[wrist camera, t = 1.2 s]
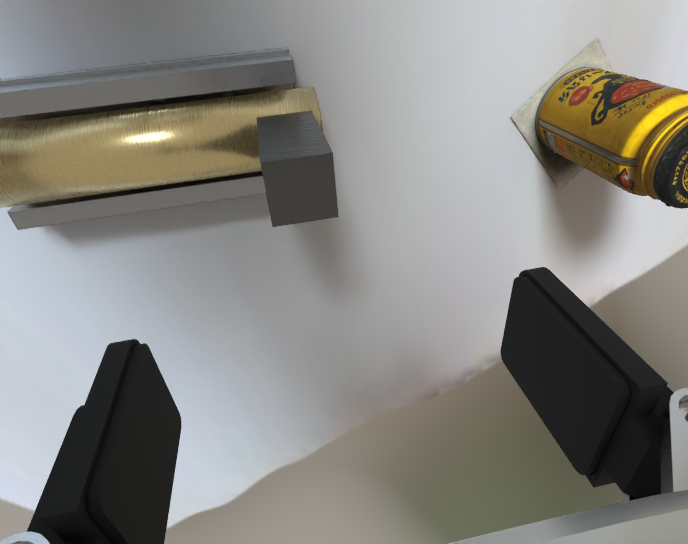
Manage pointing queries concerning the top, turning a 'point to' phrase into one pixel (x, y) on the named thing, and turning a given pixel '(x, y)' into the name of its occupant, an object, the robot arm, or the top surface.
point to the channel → (134, 92)
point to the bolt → (177, 151)
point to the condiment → (610, 128)
